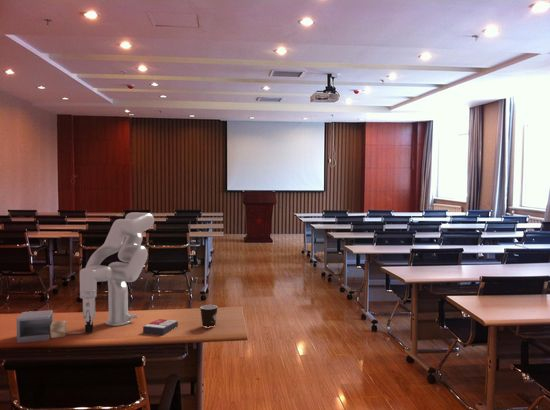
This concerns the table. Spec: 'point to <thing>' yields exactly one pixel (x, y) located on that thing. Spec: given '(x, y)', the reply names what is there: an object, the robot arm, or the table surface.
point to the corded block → (60, 329)
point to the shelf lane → (34, 326)
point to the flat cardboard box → (159, 327)
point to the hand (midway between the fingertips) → (89, 331)
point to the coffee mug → (208, 315)
